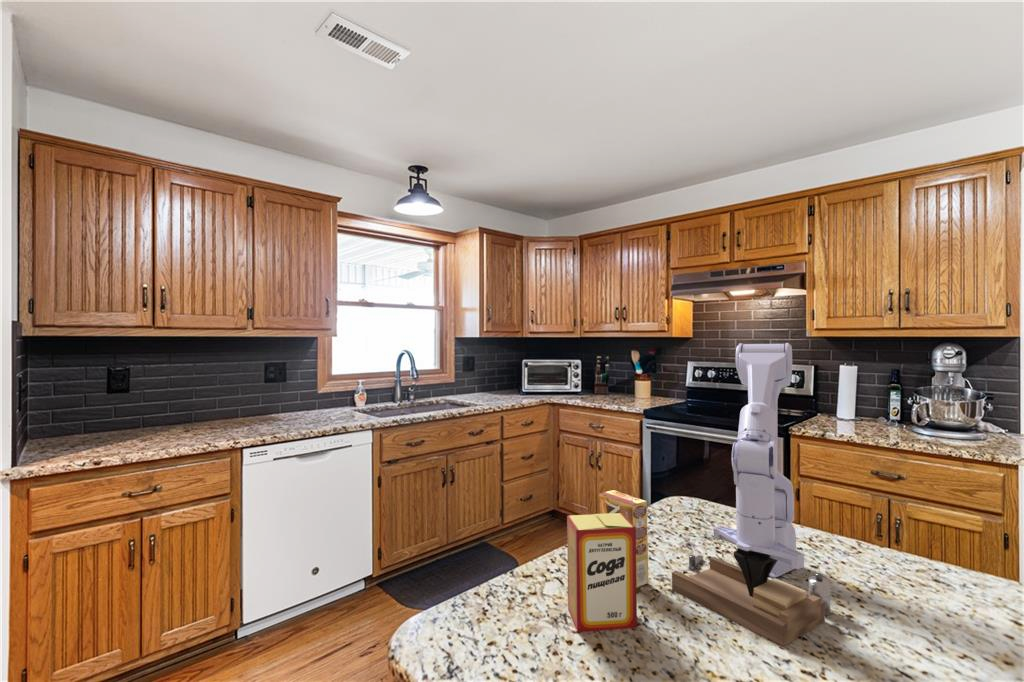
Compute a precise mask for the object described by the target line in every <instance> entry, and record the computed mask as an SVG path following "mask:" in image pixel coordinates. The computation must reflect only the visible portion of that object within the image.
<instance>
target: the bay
mask: <svg viewBox="0 0 1024 682" xmlns="http://www.w3.org/2000/svg"><path fill="white" fill-rule="evenodd" d="M770 580H771V579H769V578H768V580H767V582H768V581H770ZM671 589H672V590H673V591H674V592H676V593H678V594H680V595H682V596H684V597H686V598H689V599H690V600H693V601H694V602H695V603H698V604H700V605H702V606H704V607H706V608H708V609H709V610H710V611H711V610H712V611H714V612H715V613H717V614H719V615H721V616H723V617H724V618H725V617H726V618H727V619H728V620H731V621H733V622H735V623H737V624H739V625H740V626H743V627H744V628H747V629H749V631H752V632H754V633H756V634H757V635H760V636H762V637H764V638H766V639H768V640H769V641H772V642H774V643H775V644H777V645H779V646H781V647H785V646H787V645H788V644H790V643H791V642H793V641H795V640H796V639H798V638H800V637H801V636H803V635H805V634H806V633H808V632H810V631H811V630H813V629H814V628H816V627H818V626H820V625H821V624H823V623H824V622H825V621H826V616H825V602H823V601H821V598H820V597H817V596H815V595H811V596H809V594H807V598H806V599H804V600H802V601H800V602H798V603H796V604H794V605H793V606H791V607H789V608H787V609H785V610H783V611H781V612H780V613H779V619H777V618H775V617H773V616H771V615H769V614H767V613H765V612H763V611H760V610H758V609H756V608H754V607H753V605H754V598H753V597H751V596H749V592H748V588H747V584H746V581H745V578H744V575H743V572H742V570H741V568H740V566H738V565H735V564H733V563H730V562H727V561H726V560H723V559H721V558H718V557H715V556H712V557H710V558H709V568H708V569H705V570H703V571H700V572H698V573H695V574H692V575H690V576H688V575H687V574H684V573H682V572H679V571H677V570H676V571H675V570H674V571H673V572H671Z"/></svg>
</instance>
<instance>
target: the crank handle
mask: <svg viewBox="0 0 1024 682" xmlns="http://www.w3.org/2000/svg"><path fill="white" fill-rule="evenodd" d="M703 561H704V555H701V554H697V556H696V555H694V554H689V555H688V571H689V570H690V571H693V572H695V570H696V569H697V568H698V567H699V566H700V565H701V563H702V562H703Z"/></svg>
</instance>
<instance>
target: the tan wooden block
mask: <svg viewBox="0 0 1024 682" xmlns="http://www.w3.org/2000/svg"><path fill="white" fill-rule="evenodd" d="M769 580H770V581H768V582H766V583H764V584H761V585H759V586H757V587H755V588H754V592H753V597H754V605H753V607H754V608H756V609H758V610H760V611H763V612H765V613H767V614H769V615H771V616H773V617H775V618H777V619H779V613H780V612H781V611H783V610H785V609H787V608H789V607H791V606H793V605H794V604H796V603H798V602H800V601H802V600H804V599H806V598H807V595H808V594H807V590H804V589H802V588H800V587H797V586H795V585H793V584H790V583H787V582H785V581H782V580H780V579H778V578H774V577H773V578H772V579H769Z"/></svg>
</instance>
